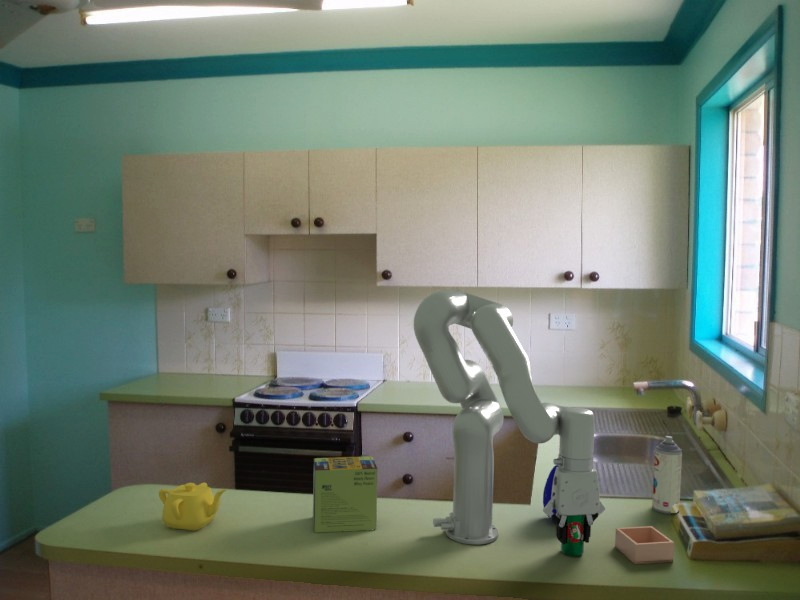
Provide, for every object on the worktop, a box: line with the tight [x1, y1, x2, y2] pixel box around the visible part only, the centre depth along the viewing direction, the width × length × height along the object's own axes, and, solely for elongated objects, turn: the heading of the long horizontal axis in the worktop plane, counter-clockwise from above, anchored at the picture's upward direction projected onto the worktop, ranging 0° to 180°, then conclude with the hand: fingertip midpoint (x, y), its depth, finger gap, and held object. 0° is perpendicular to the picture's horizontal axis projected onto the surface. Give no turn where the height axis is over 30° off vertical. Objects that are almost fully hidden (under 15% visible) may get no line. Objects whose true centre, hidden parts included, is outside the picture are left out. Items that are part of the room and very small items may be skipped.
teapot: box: [158, 482, 227, 532], centre depth 168 cm, size 14×13×10 cm
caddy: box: [614, 525, 675, 565], centre depth 156 cm, size 9×9×4 cm
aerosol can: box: [651, 435, 683, 515], centre depth 184 cm, size 7×7×20 cm
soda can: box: [560, 515, 585, 558], centre depth 156 cm, size 5×5×12 cm
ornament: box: [542, 465, 559, 523], centre depth 175 cm, size 11×9×15 cm
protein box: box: [312, 456, 378, 534], centre depth 170 cm, size 10×15×16 cm
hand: (573, 540), depth 156 cm, fingers closed on soda can, 4 cm apart
